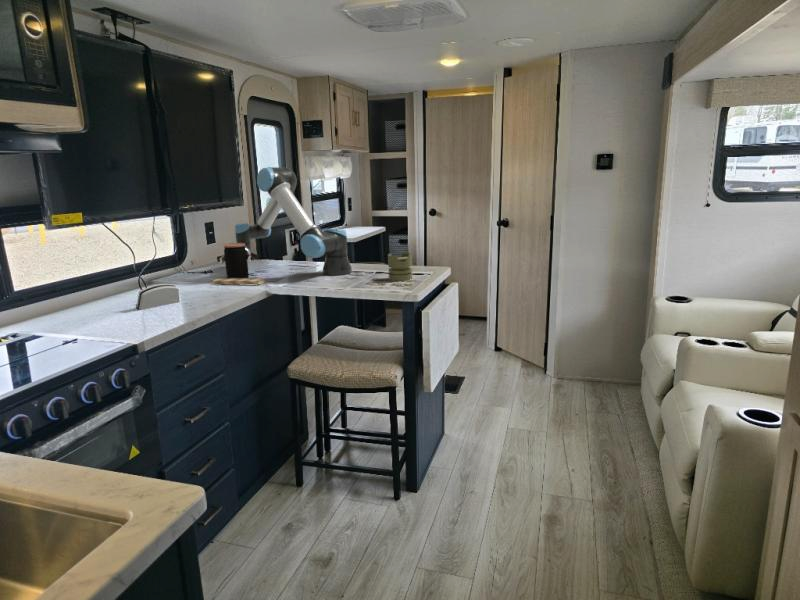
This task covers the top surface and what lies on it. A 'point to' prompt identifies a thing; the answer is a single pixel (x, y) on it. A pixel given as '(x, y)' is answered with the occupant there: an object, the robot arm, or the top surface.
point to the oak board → (238, 281)
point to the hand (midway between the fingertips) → (234, 260)
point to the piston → (400, 267)
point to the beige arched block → (157, 296)
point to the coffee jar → (236, 260)
